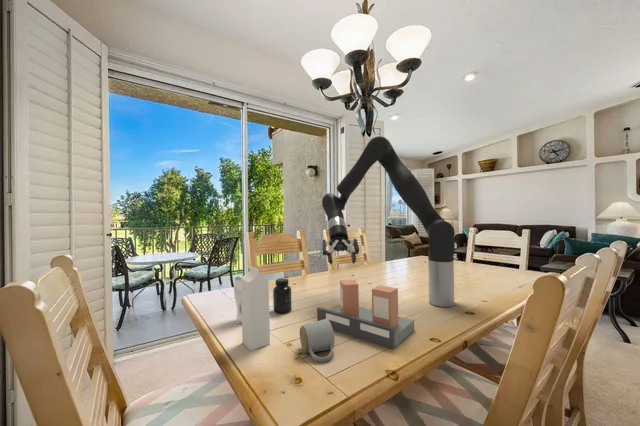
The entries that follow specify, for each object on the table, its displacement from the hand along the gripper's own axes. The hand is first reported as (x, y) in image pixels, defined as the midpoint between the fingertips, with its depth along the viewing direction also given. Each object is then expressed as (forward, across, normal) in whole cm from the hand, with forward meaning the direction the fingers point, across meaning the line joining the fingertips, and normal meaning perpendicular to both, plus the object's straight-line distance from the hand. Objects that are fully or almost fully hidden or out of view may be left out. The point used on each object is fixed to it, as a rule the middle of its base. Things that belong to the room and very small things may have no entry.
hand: (342, 262), depth 102 cm
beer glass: (+16, -36, +11) cm, 40 cm away
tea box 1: (+19, 0, +2) cm, 19 cm away
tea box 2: (+26, +9, -4) cm, 27 cm away
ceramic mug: (+33, -12, -7) cm, 36 cm away
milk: (+28, -29, -2) cm, 41 cm away
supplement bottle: (+11, -23, +16) cm, 30 cm away
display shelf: (+23, +5, +3) cm, 24 cm away
